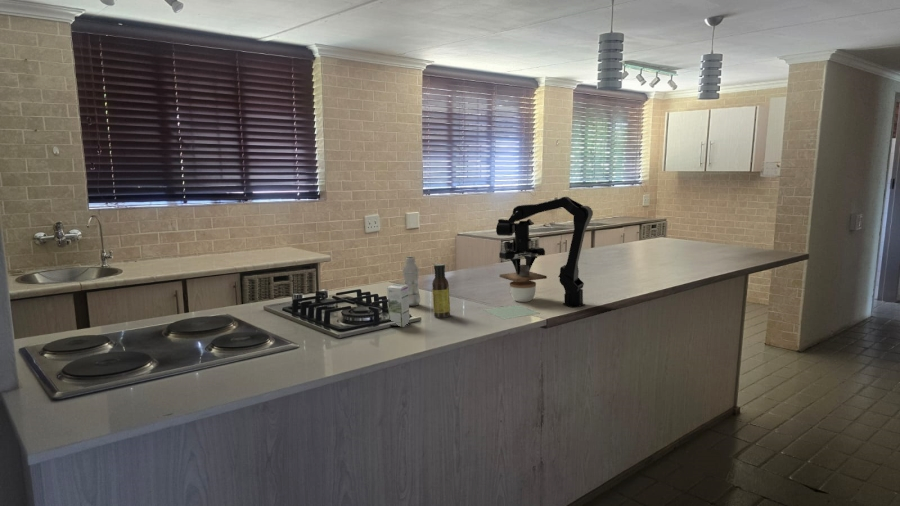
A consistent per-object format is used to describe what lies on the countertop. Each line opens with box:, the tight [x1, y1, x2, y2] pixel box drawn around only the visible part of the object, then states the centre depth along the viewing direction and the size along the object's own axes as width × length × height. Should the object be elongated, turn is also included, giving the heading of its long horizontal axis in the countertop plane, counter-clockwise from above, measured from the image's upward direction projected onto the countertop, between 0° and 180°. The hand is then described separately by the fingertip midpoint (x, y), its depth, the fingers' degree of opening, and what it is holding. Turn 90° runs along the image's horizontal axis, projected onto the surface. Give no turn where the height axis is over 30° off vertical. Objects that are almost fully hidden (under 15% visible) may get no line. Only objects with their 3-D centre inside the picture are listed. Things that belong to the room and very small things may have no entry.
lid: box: [499, 264, 548, 282], centre depth 237 cm, size 14×14×5 cm
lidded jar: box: [509, 280, 537, 303], centre depth 238 cm, size 11×11×9 cm
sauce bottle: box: [431, 263, 451, 319], centre depth 217 cm, size 6×6×20 cm
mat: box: [483, 304, 540, 320], centre depth 220 cm, size 16×16×1 cm
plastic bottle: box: [402, 256, 421, 307], centre depth 236 cm, size 6×7×20 cm
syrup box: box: [386, 284, 411, 328], centre depth 207 cm, size 6×6×14 cm
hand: (522, 273), depth 237 cm, fingers closed on lid, 4 cm apart
